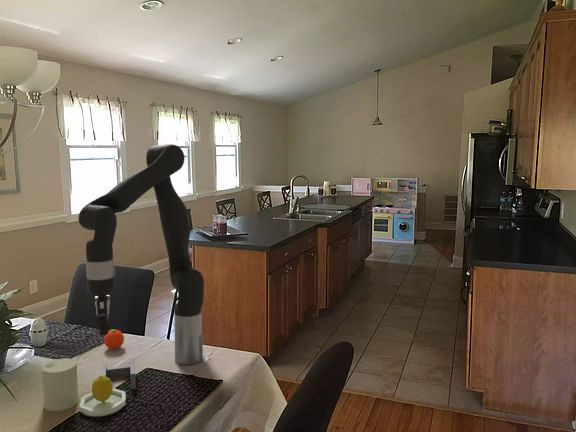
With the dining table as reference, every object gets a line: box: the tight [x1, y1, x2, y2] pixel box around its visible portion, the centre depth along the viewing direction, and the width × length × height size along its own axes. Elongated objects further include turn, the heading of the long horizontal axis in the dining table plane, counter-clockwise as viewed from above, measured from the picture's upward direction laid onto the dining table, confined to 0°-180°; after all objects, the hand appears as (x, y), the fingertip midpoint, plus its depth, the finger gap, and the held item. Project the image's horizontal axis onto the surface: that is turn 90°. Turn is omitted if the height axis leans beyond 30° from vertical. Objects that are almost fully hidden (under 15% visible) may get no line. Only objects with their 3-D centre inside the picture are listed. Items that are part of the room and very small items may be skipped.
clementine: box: [103, 329, 125, 350], centre depth 173 cm, size 8×7×7 cm
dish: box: [79, 387, 126, 418], centre depth 135 cm, size 12×12×2 cm
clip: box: [100, 358, 137, 390], centre depth 147 cm, size 10×11×5 cm
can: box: [41, 357, 80, 412], centre depth 135 cm, size 9×9×12 cm
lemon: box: [91, 375, 114, 402], centre depth 134 cm, size 6×6×8 cm
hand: (104, 329), depth 136 cm, fingers open, 8 cm apart
